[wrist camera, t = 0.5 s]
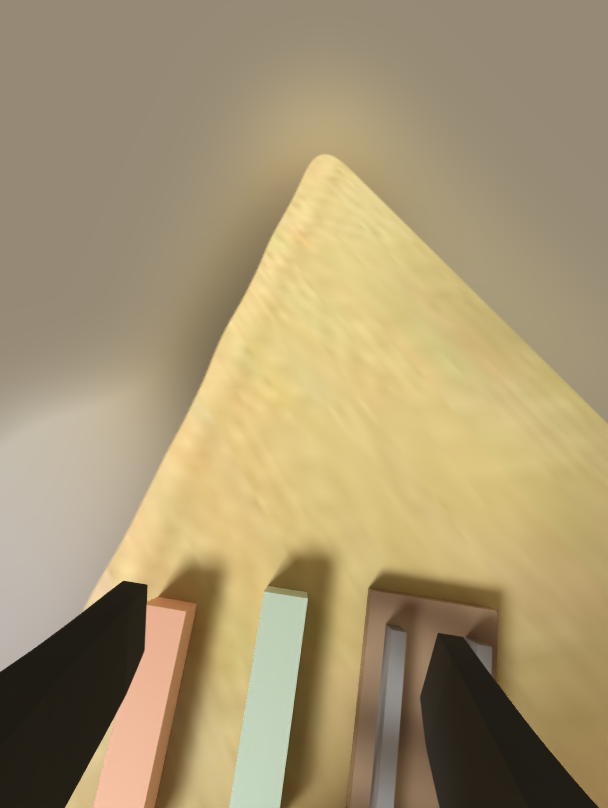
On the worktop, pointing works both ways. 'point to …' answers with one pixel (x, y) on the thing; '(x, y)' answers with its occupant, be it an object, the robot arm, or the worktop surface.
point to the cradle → (404, 693)
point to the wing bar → (147, 710)
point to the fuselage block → (270, 700)
